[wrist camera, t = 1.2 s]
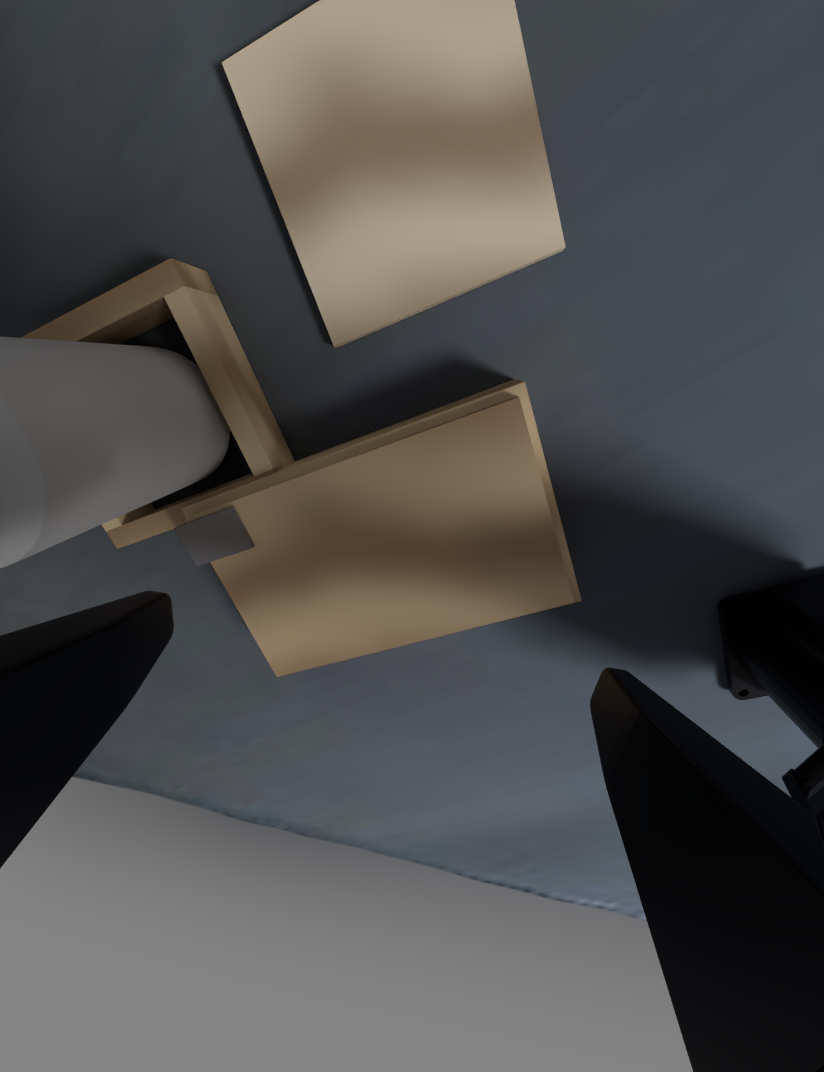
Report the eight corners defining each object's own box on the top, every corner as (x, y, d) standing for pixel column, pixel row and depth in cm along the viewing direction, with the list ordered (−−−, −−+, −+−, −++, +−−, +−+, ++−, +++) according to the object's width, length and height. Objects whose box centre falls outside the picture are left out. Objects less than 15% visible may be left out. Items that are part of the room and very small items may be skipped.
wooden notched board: (565, 571, 22) (587, 611, 18) (230, 660, 26) (195, 707, 23) (452, 145, 16) (451, 82, 12) (42, 355, 20) (-47, 353, 17)
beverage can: (149, 491, 23) (-146, 612, 12) (89, 365, 20) (-347, 366, 9) (256, 465, 21) (44, 573, 10) (205, 330, 19) (-133, 283, 8)
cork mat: (561, 251, 17) (565, 247, 16) (337, 347, 19) (334, 347, 18) (490, -90, 14) (491, -109, 13) (229, 73, 16) (221, 62, 15)
